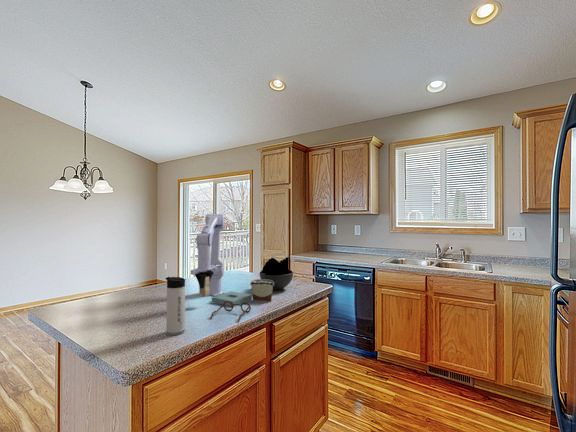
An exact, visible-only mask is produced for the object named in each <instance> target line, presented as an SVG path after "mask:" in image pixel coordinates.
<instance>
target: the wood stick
mask: <svg viewBox="0 0 576 432" xmlns="http://www.w3.org/2000/svg"><path fill="white" fill-rule="evenodd" d="M198 291H199V296H201V297H206V298H207V297H208V296H210V295H209V276H205V281H204V288H200V287H199V289H198Z"/></svg>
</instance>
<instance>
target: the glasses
mask: <svg viewBox="0 0 576 432" xmlns="http://www.w3.org/2000/svg"><path fill="white" fill-rule="evenodd" d="M226 302H229V303H230V304H231V305H232V307H231V308H230V309H229V308H227V306H226V305H225V303H226ZM233 305H237V307H238V306H239V307H240V310H241V312H242V313H240V314H239V316H238V319H237V323H240V321H241V317H242V316H243V315H245V314H246V313H249V312H251V310H252V307H251V306H252V305H251V304H250V303H249V302H244V303H242V304H233V303H232V302H230V301H225V302H224V304H223V305H221V306H219V308H218V309H217V310H214V311H212V312H211V316H210V318H209V320H210V321H211V320H212V319H213V316H214V314H215V313H218V312H219V311H221V309H222V308H224V310H225V311H227V312H232V310H233V309H234V307H233ZM243 305H247V306H248V307H247V308H246V309H244V308H243Z"/></svg>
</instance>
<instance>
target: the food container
mask: <svg viewBox="0 0 576 432" xmlns="http://www.w3.org/2000/svg"><path fill="white" fill-rule="evenodd" d="M250 281H251V282H250V283H249V285H250V286H251V287H250V288H251V295H252V302H266V303H267V302H268V303H271V302H272V300H273V299H272V297H273V290H274V289H273V285H274V282H273V281H272V280H268V279H261V278H259V279H252V280H250Z"/></svg>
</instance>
